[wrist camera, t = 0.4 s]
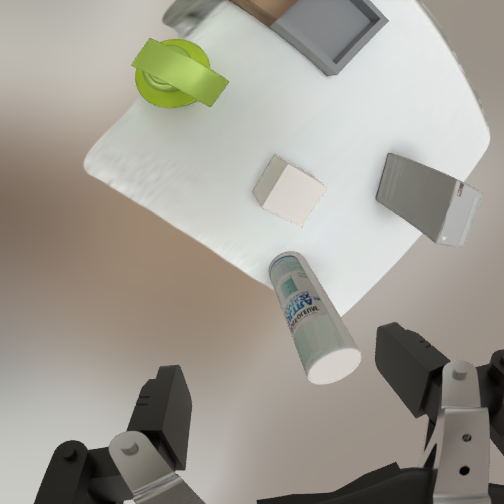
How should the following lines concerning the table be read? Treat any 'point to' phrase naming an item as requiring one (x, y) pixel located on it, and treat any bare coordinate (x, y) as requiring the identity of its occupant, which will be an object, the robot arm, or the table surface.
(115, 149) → the table surface
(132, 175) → the table surface
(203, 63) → the soap dispenser
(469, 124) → the table surface
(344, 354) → the spray can
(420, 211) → the skincare box
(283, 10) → the brown flat square block
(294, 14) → the box
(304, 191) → the white cube
